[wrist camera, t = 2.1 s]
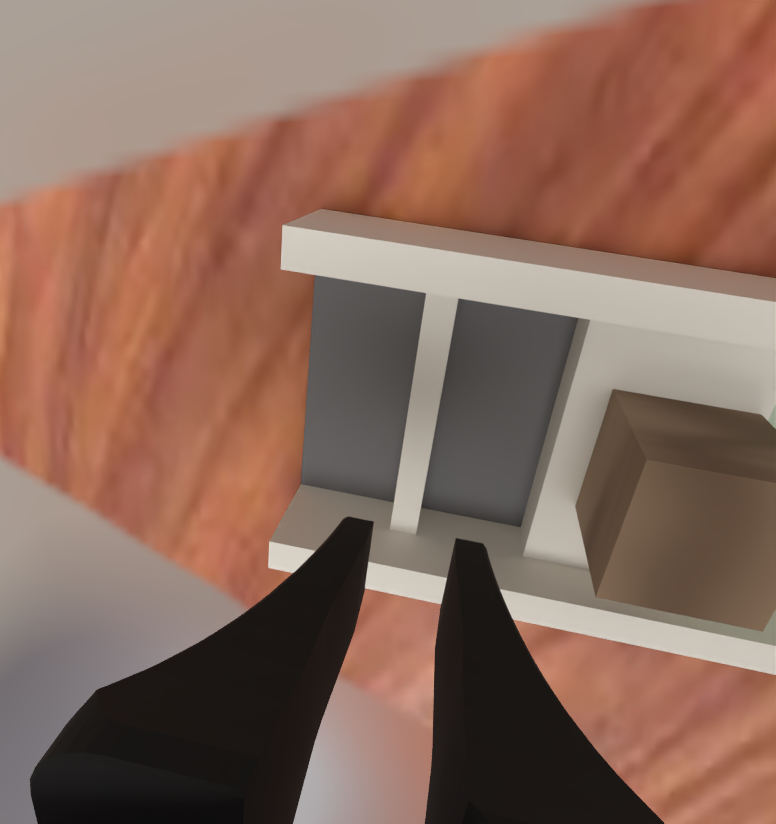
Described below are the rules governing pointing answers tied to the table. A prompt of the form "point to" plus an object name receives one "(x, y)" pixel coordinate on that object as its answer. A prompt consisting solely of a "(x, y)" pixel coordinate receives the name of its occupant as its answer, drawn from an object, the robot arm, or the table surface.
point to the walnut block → (682, 510)
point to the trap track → (504, 406)
